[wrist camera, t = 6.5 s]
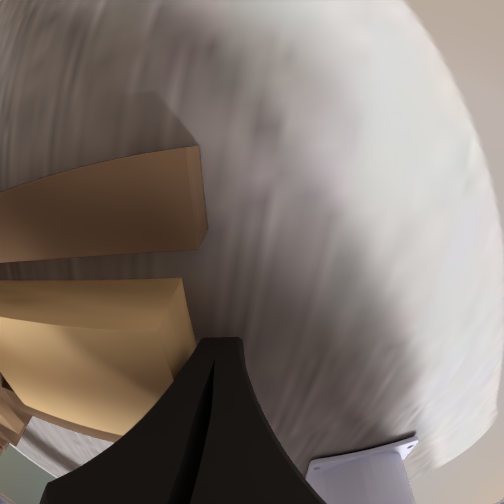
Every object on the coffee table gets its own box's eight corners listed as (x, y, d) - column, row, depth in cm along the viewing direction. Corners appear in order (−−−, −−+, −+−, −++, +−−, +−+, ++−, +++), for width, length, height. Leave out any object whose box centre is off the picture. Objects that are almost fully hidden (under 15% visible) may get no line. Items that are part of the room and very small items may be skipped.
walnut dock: (243, 442, 13) (241, 508, 9) (3, 391, 14) (-18, 424, 10) (195, 100, 7) (130, 63, 3) (-77, 208, 7) (-117, 231, 3)
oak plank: (210, 391, 11) (202, 446, 9) (46, 369, 12) (24, 404, 9) (183, 274, 9) (156, 331, 6) (2, 278, 9) (-35, 309, 7)
